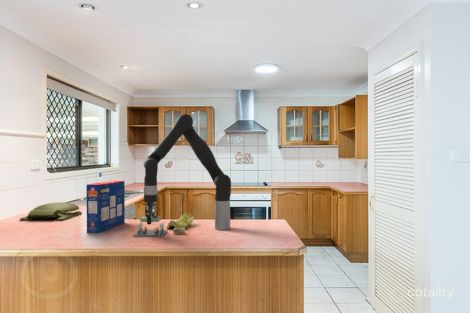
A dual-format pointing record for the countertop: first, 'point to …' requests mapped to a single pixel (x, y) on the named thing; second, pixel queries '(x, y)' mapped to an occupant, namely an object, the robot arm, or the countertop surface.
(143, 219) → the board
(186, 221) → the plastic component
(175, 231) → the block
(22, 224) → the countertop surface
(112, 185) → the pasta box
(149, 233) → the chassis
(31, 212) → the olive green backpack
